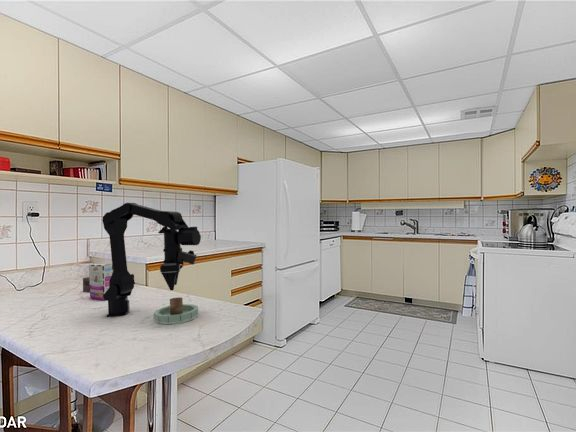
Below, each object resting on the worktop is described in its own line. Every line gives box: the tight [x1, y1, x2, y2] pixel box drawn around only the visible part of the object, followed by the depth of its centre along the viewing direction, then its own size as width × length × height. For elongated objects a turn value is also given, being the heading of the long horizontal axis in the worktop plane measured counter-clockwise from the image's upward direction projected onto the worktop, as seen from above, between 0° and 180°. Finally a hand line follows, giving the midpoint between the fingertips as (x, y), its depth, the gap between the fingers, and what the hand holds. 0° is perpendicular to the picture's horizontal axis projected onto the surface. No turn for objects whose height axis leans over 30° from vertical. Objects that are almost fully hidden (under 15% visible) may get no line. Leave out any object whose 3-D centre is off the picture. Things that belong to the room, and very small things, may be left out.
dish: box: [153, 303, 199, 325], centre depth 117 cm, size 15×15×3 cm
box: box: [82, 276, 90, 293], centre depth 168 cm, size 6×6×7 cm
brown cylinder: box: [169, 296, 184, 315], centre depth 117 cm, size 4×4×6 cm
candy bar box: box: [88, 263, 113, 302], centre depth 150 cm, size 11×5×16 cm, turn 62°
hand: (173, 287), depth 118 cm, fingers open, 9 cm apart
